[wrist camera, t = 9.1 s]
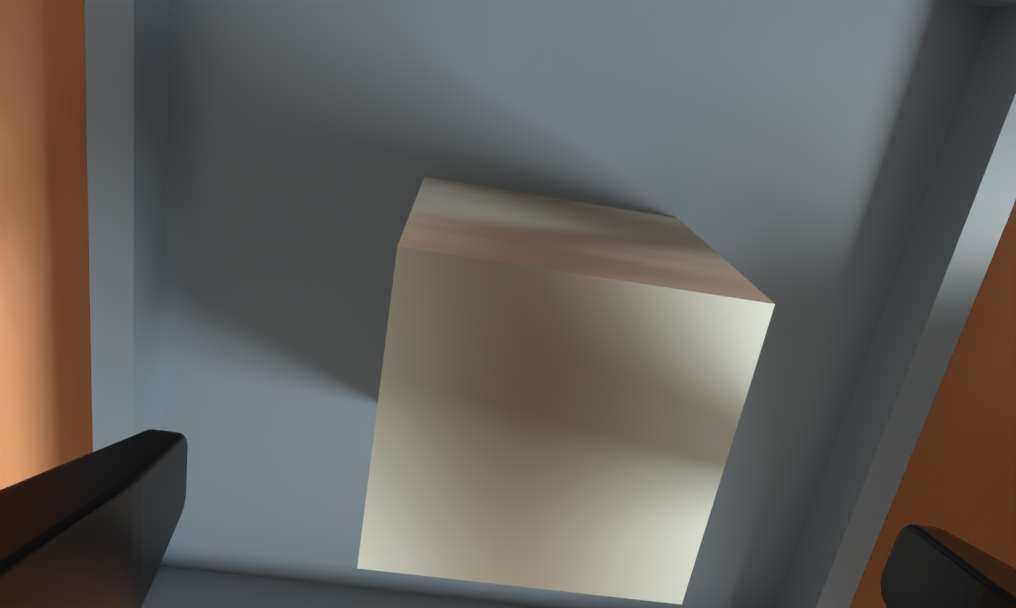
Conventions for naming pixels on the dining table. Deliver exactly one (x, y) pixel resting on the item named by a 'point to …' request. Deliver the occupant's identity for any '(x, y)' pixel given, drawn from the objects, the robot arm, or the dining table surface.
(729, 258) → the tray
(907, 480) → the dining table surface
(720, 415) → the cream block
